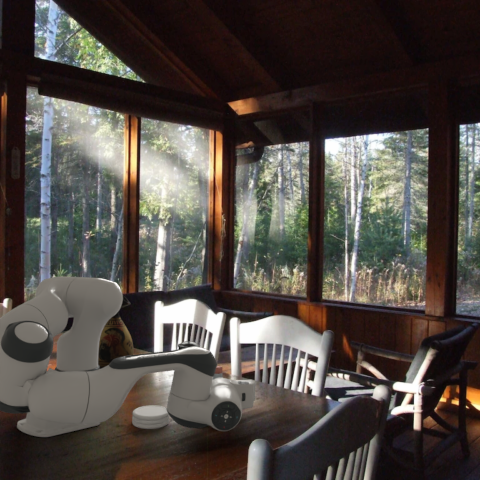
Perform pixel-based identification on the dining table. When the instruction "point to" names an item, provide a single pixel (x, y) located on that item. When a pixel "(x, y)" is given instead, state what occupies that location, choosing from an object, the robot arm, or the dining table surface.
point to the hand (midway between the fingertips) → (217, 381)
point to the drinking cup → (188, 342)
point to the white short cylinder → (150, 417)
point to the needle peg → (218, 372)
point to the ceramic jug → (114, 339)
